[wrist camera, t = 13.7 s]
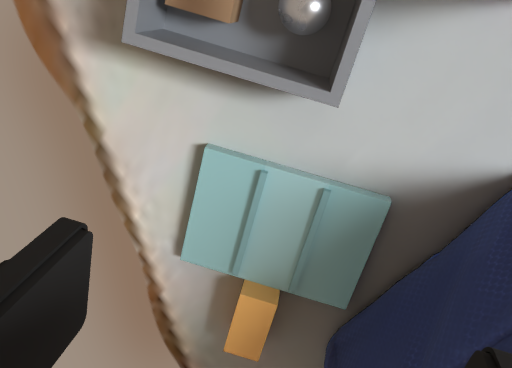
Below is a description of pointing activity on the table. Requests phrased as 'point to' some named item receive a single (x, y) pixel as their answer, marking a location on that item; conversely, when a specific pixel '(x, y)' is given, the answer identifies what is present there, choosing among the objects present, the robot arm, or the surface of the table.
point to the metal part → (304, 15)
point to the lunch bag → (439, 305)
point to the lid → (278, 237)
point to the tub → (257, 44)
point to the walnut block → (211, 8)
